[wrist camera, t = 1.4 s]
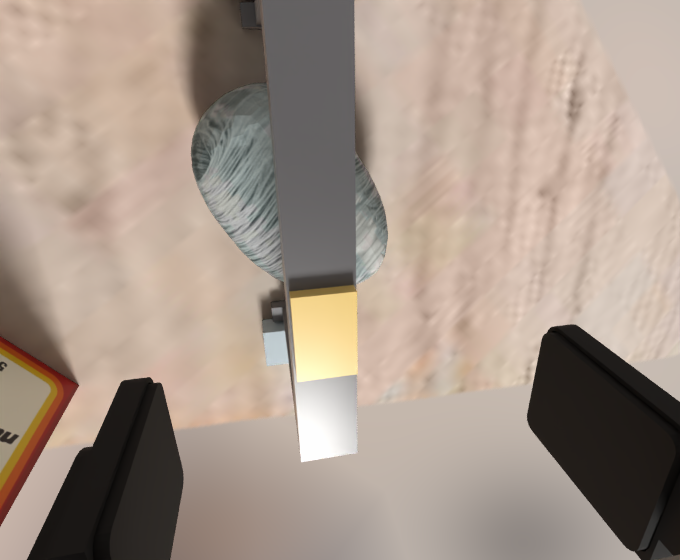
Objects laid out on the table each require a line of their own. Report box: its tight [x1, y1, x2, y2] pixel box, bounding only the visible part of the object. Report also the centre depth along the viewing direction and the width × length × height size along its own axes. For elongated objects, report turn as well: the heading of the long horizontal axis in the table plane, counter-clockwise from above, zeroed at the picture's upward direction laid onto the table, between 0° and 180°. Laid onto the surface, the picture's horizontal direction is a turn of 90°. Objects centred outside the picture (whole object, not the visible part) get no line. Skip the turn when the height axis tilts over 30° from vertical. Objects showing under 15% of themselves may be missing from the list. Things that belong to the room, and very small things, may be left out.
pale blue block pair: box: [263, 319, 289, 366], centre depth 29 cm, size 27×6×2 cm, turn 1°
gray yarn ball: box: [191, 83, 388, 284], centre depth 27 cm, size 14×10×10 cm
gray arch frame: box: [240, 0, 358, 462], centre depth 23 cm, size 21×4×15 cm, turn 1°
